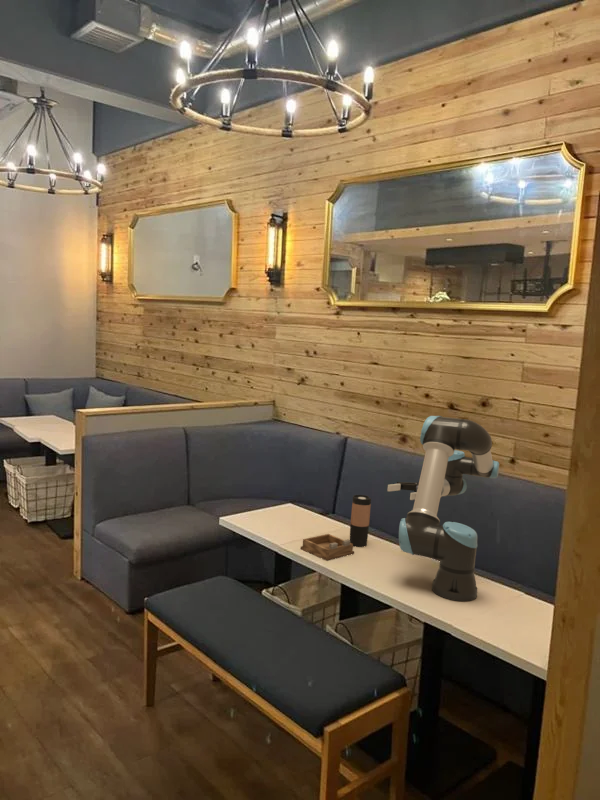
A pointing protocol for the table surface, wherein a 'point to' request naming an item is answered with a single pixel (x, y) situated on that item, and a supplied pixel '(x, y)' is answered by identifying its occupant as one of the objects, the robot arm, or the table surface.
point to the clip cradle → (327, 547)
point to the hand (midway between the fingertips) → (399, 492)
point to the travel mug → (360, 520)
